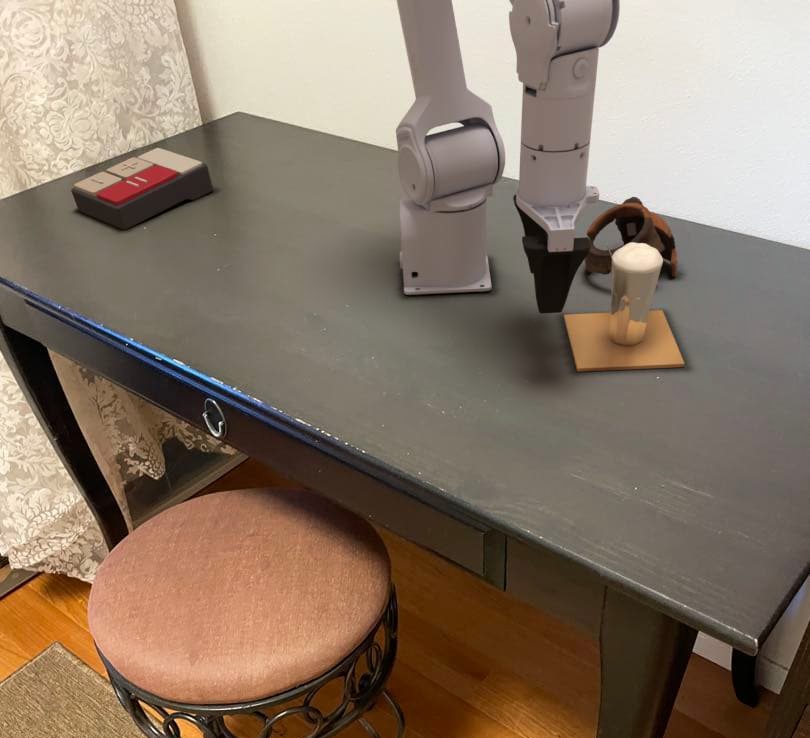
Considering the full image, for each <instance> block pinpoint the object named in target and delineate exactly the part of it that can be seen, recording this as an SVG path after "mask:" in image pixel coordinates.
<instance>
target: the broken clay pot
mask: <svg viewBox="0 0 810 738" xmlns="http://www.w3.org/2000/svg"><path fill="white" fill-rule="evenodd" d="M613 222H614V224H615V226H616V227H617V230H618V231H619V233H620V237H621V241H622V243H623V245H621V246H619V247H616V248H614V249H609V250H610V253H611V255H612V256H613V254H614V253H615V252H616V251H617V250H618V249H620V248H622V247H623V246H625V245H626V244H628V243H631V242H634V243H645V244H647V245H649V246H651V247H653V248H655V249H657V250H658V252H659V253H660V255H661V256H662V258H663V260H666V261H668V262H670V263H669V264H670V265H669V266H670V267H671V277H672V278H676V277H677V274H678V265H677V264H678V253H677V250H676V241H675V237H674V235H673V233H672V230H671V227H670V226H669V224H668V223H667V222H666V221H665V220H664V219H663V218H662V217H661V216H659V215H657V214H656V213H655V212H652V211H650V210H649V209H648V207H647V206H645V205H644V204H643V201H642V200H641V199H640V198H639V197H637V196H631V197H629V198H626V199H625V200H624V201H623V202H622V203H621V204H617V205H614V206H613V207H610V208H608V209H607V210H606V211H603V213H601V214H600V215H599V216H598V217H596V219H595V220H594V221H593V222H592V223H591V224H590V226H589V227H588V229H587V231H586V236H587V237H588V238H589V240H590V243H591V248H590V251H589V254H588V256H587V257H586V258H585V259H584V265H585V270H586V272H587V273H591V272H593V273H596V274H601V275H606V276H607V275H610V274H611V273H612V259H611V256H610V253H609V250H608V249H606V250H604V249H600V248H598V247H596V246H595V244H594V242H595V240H596V238H597V236H598V235H599V234H600V233H601V231H603V230H604V228H606V227H607V226H608V225H610V224H611V223H613Z"/></svg>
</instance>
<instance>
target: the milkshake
mask: <svg viewBox="0 0 810 738" xmlns="http://www.w3.org/2000/svg"><path fill="white" fill-rule="evenodd" d="M605 244H606V247H607V250H609V253H610V250H611V249H610V247H609V244H608V242H607V241H605ZM622 246H623V247H622ZM622 246H621V247H622V248H620V249H618V250H617V251H616V252H615V253H614V254H613V256H612V255H611V253H610V256H611V259H612V272H611V273H610V274H611V275H610V276H611V277H610V279H611V282H610V284H611V288H610V289H611V299H610V302H611V303H610V312H611V317H610V339H611V340H612V341H613V342H615V343H616V344H621V345H625V346H627V345H636V344H637V343H639V342H641V341H642V340H643V336H644V332H645V328H646V324H647V320H648V315H649V311H651V307H652V303H653V299H654V295H655V292H656V288H657V285H658V281H659V278H660V274H661V270H662V267H663V263H664V258H662V256H661V255H660V253H659V252H658V250H657V249H655V248H653V247H651V246H649V245H647V244H645V243H634V242H631V243H628V244H626V245H625V246H624V245H622Z"/></svg>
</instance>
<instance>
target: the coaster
mask: <svg viewBox="0 0 810 738" xmlns="http://www.w3.org/2000/svg"><path fill="white" fill-rule="evenodd" d="M610 317H611V311H609V312H591V313H589V312H588V313H571V314H570V313H569V314H563V321H564V324H565V329H566V332H567V337H568V340H569V345H570V349H571V353H572V357H573V362H574V366H575V369H576V372H602V371H623V370H624V371H625V370H627V371H628V370H649V369H669V368H670V369H672V368H684V367H685V361H684V359H683V356H682V354H681V352H680V349H679V347H678V344H677V341H676V340H675V336H674V334H673V332H672V330H671V327H670V325H669V323H668V320H667V318H666V315H665V313H664V310H663V309H657V310H656V309H655V310H650V311H649V315H648V320H647V324H646V328H645V332H644V336H643V340H642V341H641V342H639V343H637V344H636V345H627V346H625V345H621V344H616V343H615V342H613V341H612V340H611V339H610Z"/></svg>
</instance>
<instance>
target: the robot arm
mask: <svg viewBox="0 0 810 738" xmlns="http://www.w3.org/2000/svg"><path fill="white" fill-rule="evenodd" d="M508 1H509V2H510V5H511V6H512V8H511V10H509V12H508V22H509V23H508V24H509V30H510V37H511V40H512V43H513V46H514V49H515V54H516V73H517V75H518V76H517V79H518V82H520V83H522V96H521V97H522V98H521V100H522V101H521V102H522V103H521V123H520V151H519V176H518V188H517V190H516V194H514V195H513V197H512V199H513V203H514V206H515V208H516V211H517V213H518V215H519V217H520V221H521V224H522V228H523V233H524V236H522V237H521V244H522V248H523V251H524V253H525V256H526V258H527V263H528V267H529V272H530V274H532V275H533V282H534V292H535V301H536V304H537V310H538V313H539V314H559V313H560V314H561V313H562V312H563V310H564V307H565V306H566V302H567V299H568V296H569V292H570V289H571V286H572V283H573V280H574V279H575V276H576V273H577V272H578V270H579V268H580V267H581V265H582V263H583V262H585V258H586V257H587V256H588V254H589V251H590V248H591V243H590V239H589V237H588V236H587V237H575V232H576V228H575V227H576V225H577V223H578V221H579V219H580V217H581V215H582V213H583V211H584V209H585V208H586V205H588V204H595V203H596V204H597V203H598V202H599V200H600V191H599V189H598V187H597V186H595V185H587V180H588V170H589V169H588V168H589V159H590V148H591V147H590V146H591V137H592V126H593V116H594V115H593V114H594V103H595V94H596V86H597V74H598V63H599V51H600V48H603V47H604V46H606V45H607V44H608V43H609V42H610V41H611V39H612V38H613V35H615V32H616V29H617V27H618V23H619V18H620V11H621V10H620V6H621V5H620V4H621V2H620V0H508ZM396 4H397V10H398V15H399V20H400V25H401V30H402V36H403V40H404V45H405V51H406V55H407V62H408V65H409V71H410V77H411V81H412V87H413V91H414V96H415V100H414V102H413V104H412V105H411V106H410V108H409V109H408V110H407V112H406V113H405V114H404V116H403V118H402V119H401V120H400V121H399V123H398V125H397V127H396V129H395V134H396V135H395V138H396V144H397V145H396V146H397V170H398V177H399V180H400V184H401V186H402V188H403V191H404V193H405V194H406V196H407V197H408V198H403V199H400V200H399V225H400V226H399V227H400V228H399V229H400V244H401V251H399V268H400V269H401V270H402V278H403V294H405V295H407V296H413V295H416V296H417V295H432V294H433V295H434V294H435V295H436V294H452V293H453V294H455V293H474V292H475V293H476V292H478V293H479V292H489V291H491V290H492V281H491V273H490V266H489V257H488V255H487V204H488V203H487V202H488V201H487V200H488V199H487V198H489V197H492V196H493V194H494V186H496V185H497V184H498V183H499V182H500V181H501V179H502V177H503V174H504V171H505V166H506V147H505V144H504V141H503V138H502V135H501V133H500V131H499V130H498V126H497V124H496V121H495V117H494V112H493V107H492V105H491V104H490V103H489V102H487V100H484V99H483V98H482V97H480V96H479V95H477V94H475V93H474V92H473V91H471V90H470V89H469V88H468V86H467V81H466V75H465V69H464V63H463V58H462V51H461V46H460V41H459V34H458V29H457V21H456V17H455V12H454V5H453V0H396ZM454 123H456V124H461V125H462V126H459V127H454V128H450V129H446V130H443V131H439V132H434V133H431V134H430V133H429V132H430V131H431V130H432V129H434V128H438V127H441V126H445V125H449V124H454ZM428 133H429V134H428Z"/></svg>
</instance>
